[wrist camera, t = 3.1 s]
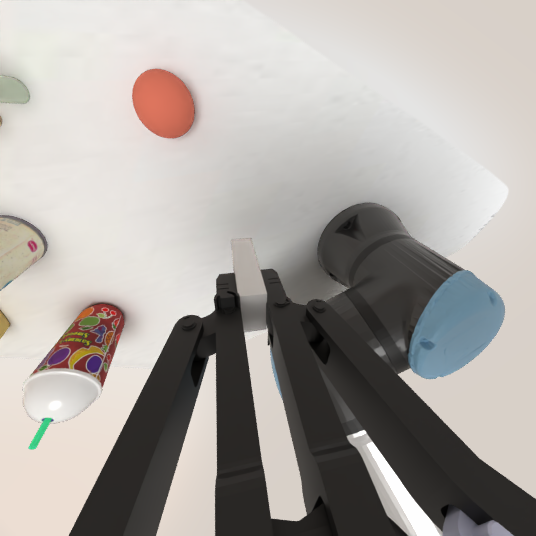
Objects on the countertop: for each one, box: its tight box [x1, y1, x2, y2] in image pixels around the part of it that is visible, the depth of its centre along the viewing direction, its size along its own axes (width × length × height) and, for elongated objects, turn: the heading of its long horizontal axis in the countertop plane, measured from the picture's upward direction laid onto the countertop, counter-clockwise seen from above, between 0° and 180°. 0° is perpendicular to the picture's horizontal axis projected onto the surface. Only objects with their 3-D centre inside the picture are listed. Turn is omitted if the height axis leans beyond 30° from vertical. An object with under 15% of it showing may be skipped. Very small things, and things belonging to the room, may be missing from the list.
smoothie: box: [22, 304, 124, 449], centre depth 33 cm, size 8×8×20 cm
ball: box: [132, 69, 195, 138], centre depth 25 cm, size 6×6×6 cm
